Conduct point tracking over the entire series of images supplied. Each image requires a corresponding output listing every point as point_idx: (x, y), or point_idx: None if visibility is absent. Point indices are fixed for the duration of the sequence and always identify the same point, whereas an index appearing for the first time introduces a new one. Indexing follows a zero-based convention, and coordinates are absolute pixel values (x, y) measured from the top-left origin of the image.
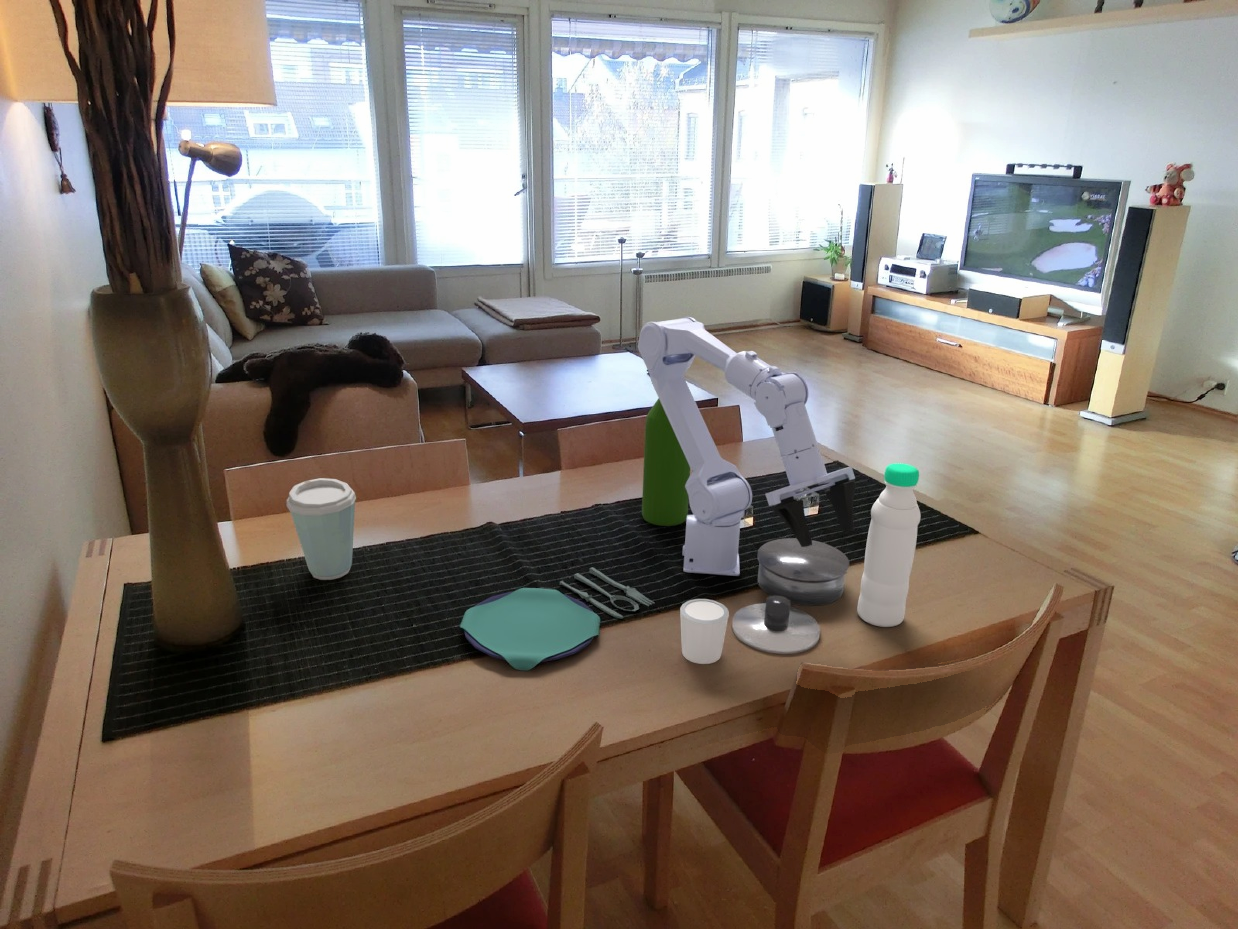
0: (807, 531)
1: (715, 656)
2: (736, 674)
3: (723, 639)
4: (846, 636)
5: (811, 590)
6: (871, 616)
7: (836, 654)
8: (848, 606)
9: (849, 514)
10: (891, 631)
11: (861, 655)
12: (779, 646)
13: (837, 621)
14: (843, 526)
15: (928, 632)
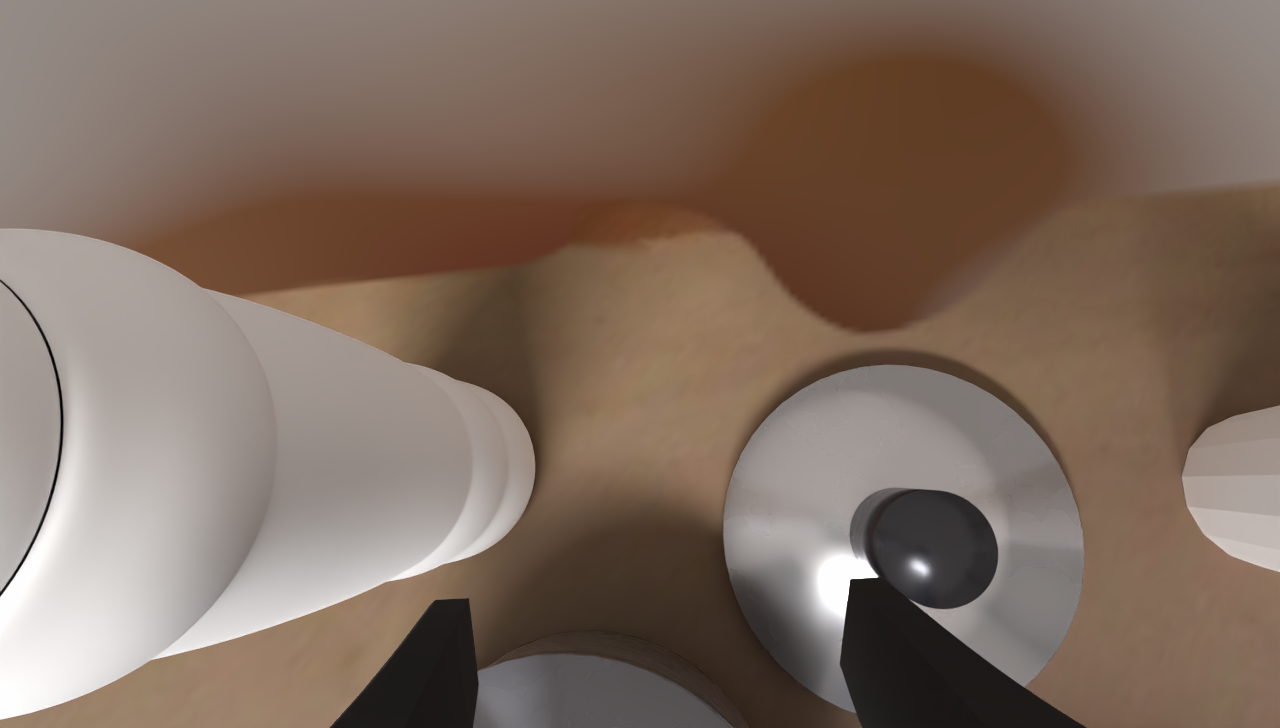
0: (924, 643)
1: (1254, 411)
2: (1179, 322)
3: (1258, 428)
4: (657, 400)
5: (653, 667)
6: (520, 426)
7: (761, 315)
8: (513, 582)
9: (407, 686)
10: (484, 374)
11: (682, 282)
12: (964, 394)
13: (624, 501)
14: (467, 699)
15: (371, 326)
